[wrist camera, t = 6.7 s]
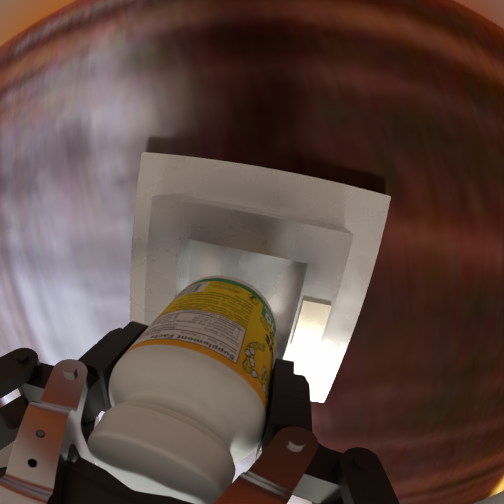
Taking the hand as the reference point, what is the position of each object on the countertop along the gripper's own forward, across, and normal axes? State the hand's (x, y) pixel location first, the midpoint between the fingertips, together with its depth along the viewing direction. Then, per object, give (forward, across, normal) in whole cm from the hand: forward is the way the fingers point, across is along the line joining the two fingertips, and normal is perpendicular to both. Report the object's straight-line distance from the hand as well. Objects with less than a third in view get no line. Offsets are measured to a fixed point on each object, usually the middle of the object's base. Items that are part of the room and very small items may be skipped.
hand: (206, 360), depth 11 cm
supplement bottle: (+4, 0, 0) cm, 4 cm away
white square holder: (+9, 0, 0) cm, 9 cm away
